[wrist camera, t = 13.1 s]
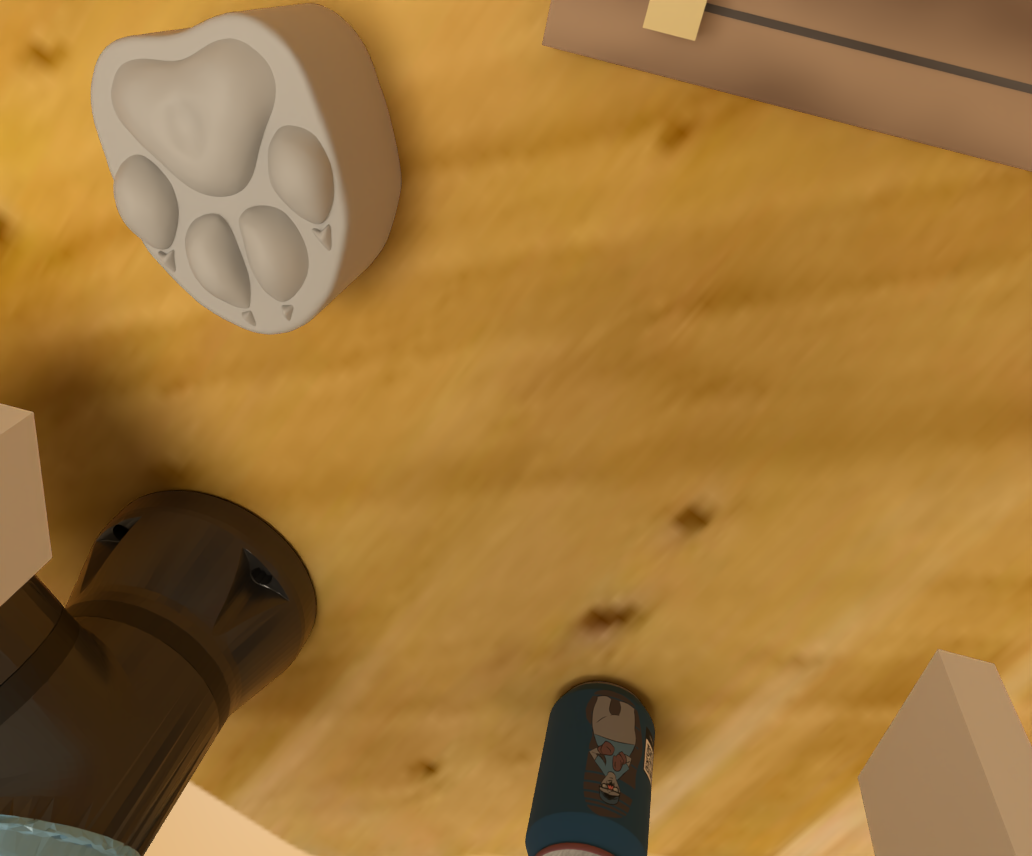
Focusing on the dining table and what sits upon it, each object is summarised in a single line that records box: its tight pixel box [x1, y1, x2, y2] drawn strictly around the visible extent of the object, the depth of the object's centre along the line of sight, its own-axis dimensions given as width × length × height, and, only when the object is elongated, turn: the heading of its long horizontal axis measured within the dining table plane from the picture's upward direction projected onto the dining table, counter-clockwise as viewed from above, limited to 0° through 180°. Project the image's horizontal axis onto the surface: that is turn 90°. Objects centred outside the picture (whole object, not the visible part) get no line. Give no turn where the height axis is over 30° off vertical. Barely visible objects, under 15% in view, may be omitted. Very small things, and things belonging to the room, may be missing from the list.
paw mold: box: [91, 3, 402, 334], centre depth 37 cm, size 10×13×9 cm
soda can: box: [525, 681, 655, 856], centre depth 50 cm, size 7×7×12 cm
